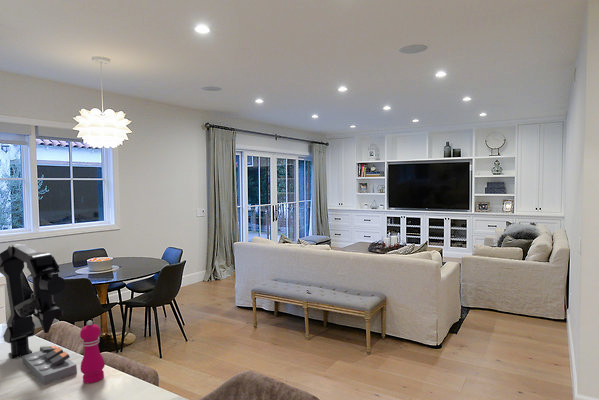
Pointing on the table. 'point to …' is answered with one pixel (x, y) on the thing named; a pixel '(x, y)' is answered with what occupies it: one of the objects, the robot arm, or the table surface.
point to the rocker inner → (47, 349)
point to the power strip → (47, 367)
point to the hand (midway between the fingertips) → (46, 332)
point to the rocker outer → (59, 358)
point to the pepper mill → (91, 354)
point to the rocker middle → (53, 353)
